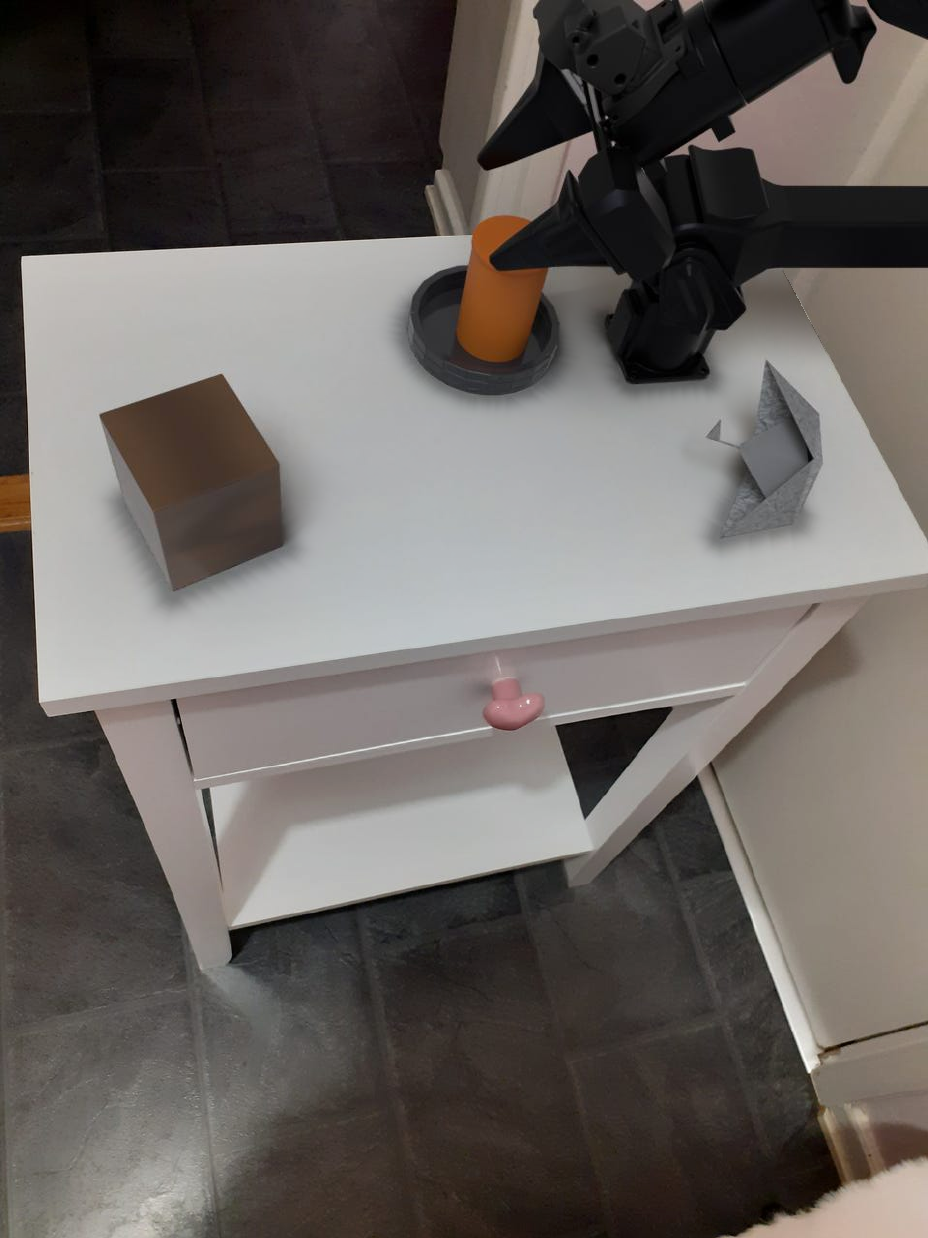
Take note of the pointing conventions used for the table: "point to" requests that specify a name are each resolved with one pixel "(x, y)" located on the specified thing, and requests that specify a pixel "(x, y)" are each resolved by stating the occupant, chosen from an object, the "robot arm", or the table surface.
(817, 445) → the paper boat
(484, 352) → the orange tin can
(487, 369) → the pan
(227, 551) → the block
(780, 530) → the table surface
